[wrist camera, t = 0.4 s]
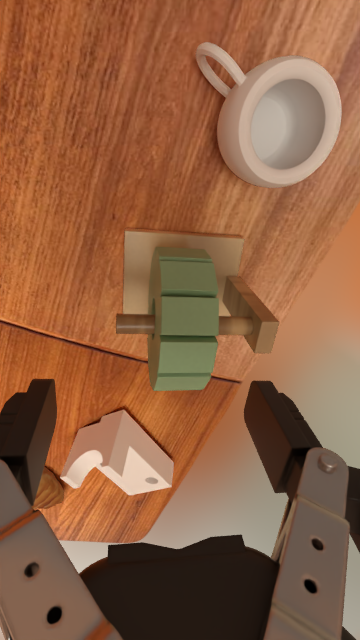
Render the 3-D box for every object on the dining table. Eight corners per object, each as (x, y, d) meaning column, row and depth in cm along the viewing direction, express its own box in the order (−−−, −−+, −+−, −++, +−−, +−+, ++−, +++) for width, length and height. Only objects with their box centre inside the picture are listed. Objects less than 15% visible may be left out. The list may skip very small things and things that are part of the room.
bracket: (81, 423, 44) (59, 477, 38) (123, 409, 41) (108, 465, 35) (134, 472, 50) (123, 525, 44) (174, 462, 48) (168, 518, 41)
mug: (315, 125, 30) (372, 119, 23) (250, 200, 32) (284, 215, 25) (225, 6, 25) (263, -47, 18) (156, 105, 27) (167, 91, 20)
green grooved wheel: (145, 340, 35) (153, 420, 25) (152, 232, 30) (166, 278, 19) (182, 341, 36) (204, 419, 26) (194, 235, 30) (229, 281, 20)
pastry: (77, 481, 48) (73, 506, 44) (45, 503, 49) (39, 529, 46) (24, 451, 43) (16, 477, 40) (-9, 476, 45) (-20, 503, 41)
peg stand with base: (117, 326, 37) (115, 393, 27) (119, 227, 32) (116, 265, 22) (226, 327, 39) (260, 391, 29) (243, 236, 34) (293, 274, 24)
